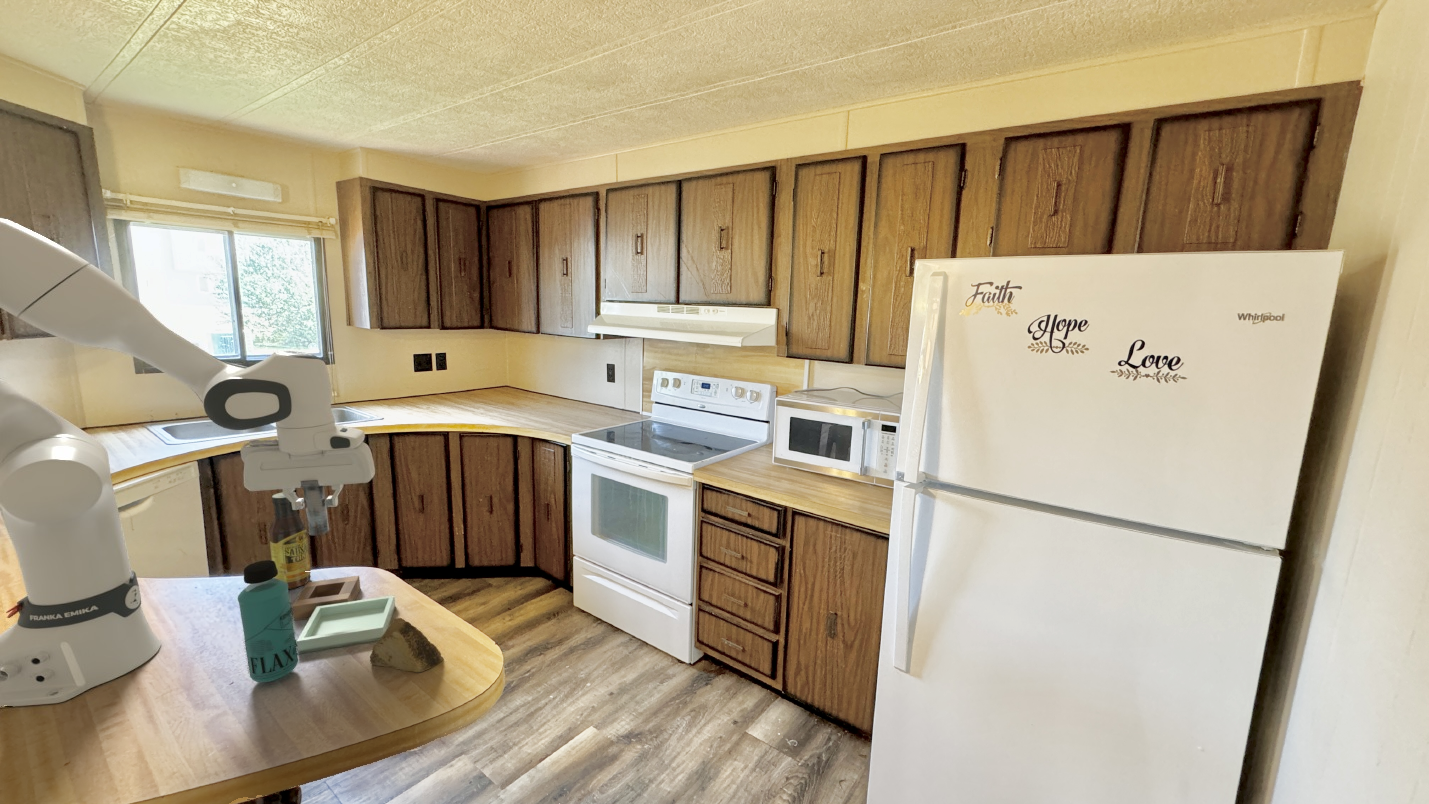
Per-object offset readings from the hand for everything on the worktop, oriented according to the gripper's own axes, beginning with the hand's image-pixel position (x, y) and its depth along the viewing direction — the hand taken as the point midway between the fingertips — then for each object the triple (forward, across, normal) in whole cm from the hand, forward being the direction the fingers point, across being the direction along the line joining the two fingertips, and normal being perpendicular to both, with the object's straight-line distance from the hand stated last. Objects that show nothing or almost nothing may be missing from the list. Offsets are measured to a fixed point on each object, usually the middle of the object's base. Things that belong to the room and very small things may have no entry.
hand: (315, 507), depth 106 cm
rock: (+21, +17, -24) cm, 36 cm away
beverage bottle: (+21, -2, -21) cm, 30 cm away
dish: (+21, +6, -10) cm, 24 cm away
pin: (+5, 0, 0) cm, 5 cm away
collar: (+21, 0, 0) cm, 21 cm away
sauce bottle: (+21, -9, +11) cm, 25 cm away
